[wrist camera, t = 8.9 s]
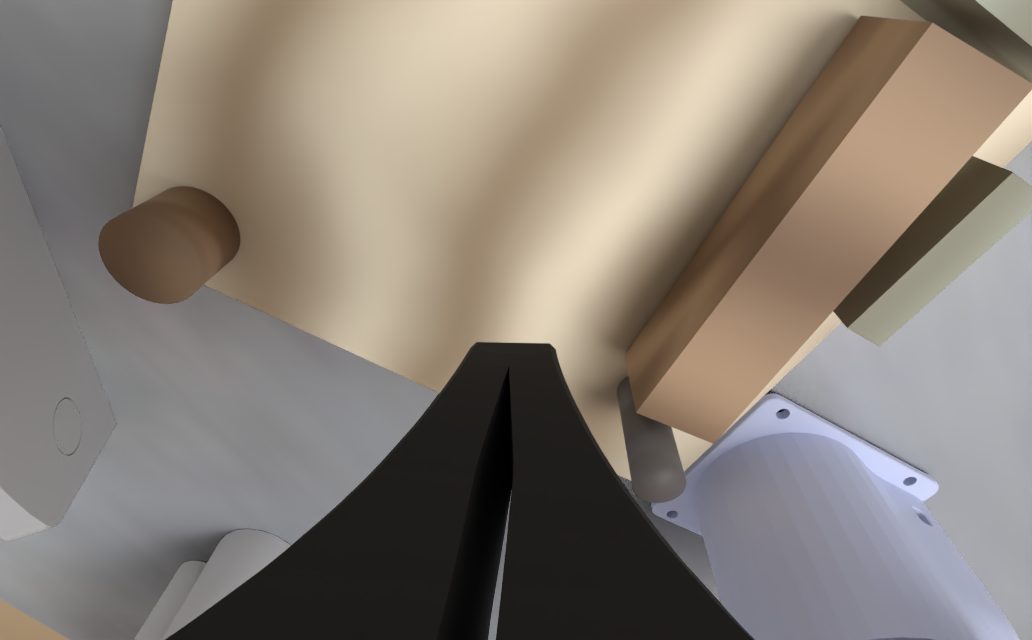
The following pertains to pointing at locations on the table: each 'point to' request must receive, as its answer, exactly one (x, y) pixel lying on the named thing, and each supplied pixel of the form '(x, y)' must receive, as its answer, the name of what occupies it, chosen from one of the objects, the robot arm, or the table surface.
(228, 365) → the table surface
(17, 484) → the grey rounded block
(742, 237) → the folding leg
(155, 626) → the vase
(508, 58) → the board
